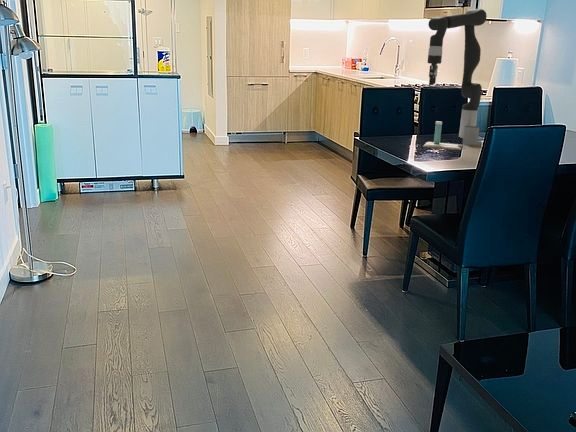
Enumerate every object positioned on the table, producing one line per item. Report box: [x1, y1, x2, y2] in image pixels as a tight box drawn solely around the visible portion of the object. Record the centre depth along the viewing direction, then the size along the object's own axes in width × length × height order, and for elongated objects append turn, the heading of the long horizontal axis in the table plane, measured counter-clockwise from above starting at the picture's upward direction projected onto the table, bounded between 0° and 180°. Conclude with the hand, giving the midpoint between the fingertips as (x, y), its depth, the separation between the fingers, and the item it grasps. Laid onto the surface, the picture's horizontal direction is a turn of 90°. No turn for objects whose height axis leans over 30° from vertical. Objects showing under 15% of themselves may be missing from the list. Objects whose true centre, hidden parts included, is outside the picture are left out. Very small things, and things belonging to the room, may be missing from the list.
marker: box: [433, 120, 443, 144], centre depth 317 cm, size 4×4×12 cm
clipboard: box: [422, 141, 464, 151], centre depth 316 cm, size 14×20×2 cm
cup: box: [462, 125, 480, 146], centre depth 326 cm, size 8×8×10 cm
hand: (432, 84), depth 320 cm, fingers open, 8 cm apart
